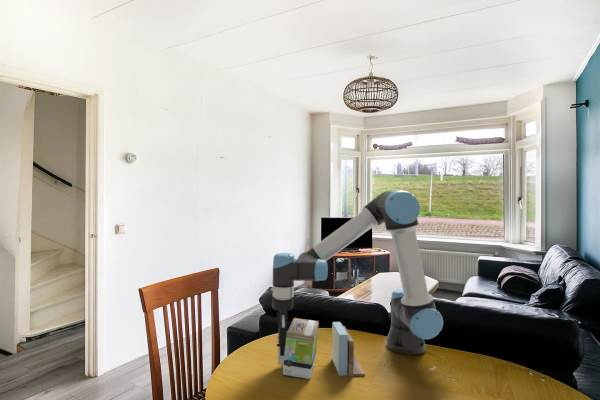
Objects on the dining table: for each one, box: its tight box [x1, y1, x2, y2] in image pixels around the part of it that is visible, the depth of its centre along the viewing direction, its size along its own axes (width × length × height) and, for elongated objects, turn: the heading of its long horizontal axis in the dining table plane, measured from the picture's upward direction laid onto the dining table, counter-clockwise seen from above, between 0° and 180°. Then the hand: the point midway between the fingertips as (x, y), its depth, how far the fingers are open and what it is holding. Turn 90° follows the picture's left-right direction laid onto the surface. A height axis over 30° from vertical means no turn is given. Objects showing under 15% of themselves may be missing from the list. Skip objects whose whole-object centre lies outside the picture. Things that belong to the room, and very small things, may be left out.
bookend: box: [342, 325, 366, 378], centre depth 123 cm, size 6×14×12 cm, turn 6°
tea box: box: [282, 317, 320, 380], centre depth 122 cm, size 15×10×15 cm
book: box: [331, 321, 348, 377], centre depth 123 cm, size 3×12×14 cm, turn 6°
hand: (281, 362), depth 122 cm, fingers closed
